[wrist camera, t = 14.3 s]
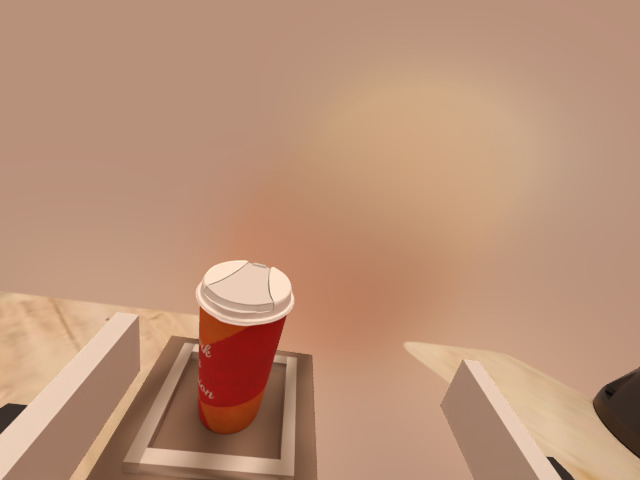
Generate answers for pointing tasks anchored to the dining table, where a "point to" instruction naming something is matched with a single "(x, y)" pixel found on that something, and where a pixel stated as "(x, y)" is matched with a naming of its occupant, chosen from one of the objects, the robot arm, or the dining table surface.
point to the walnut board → (204, 445)
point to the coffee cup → (238, 340)
